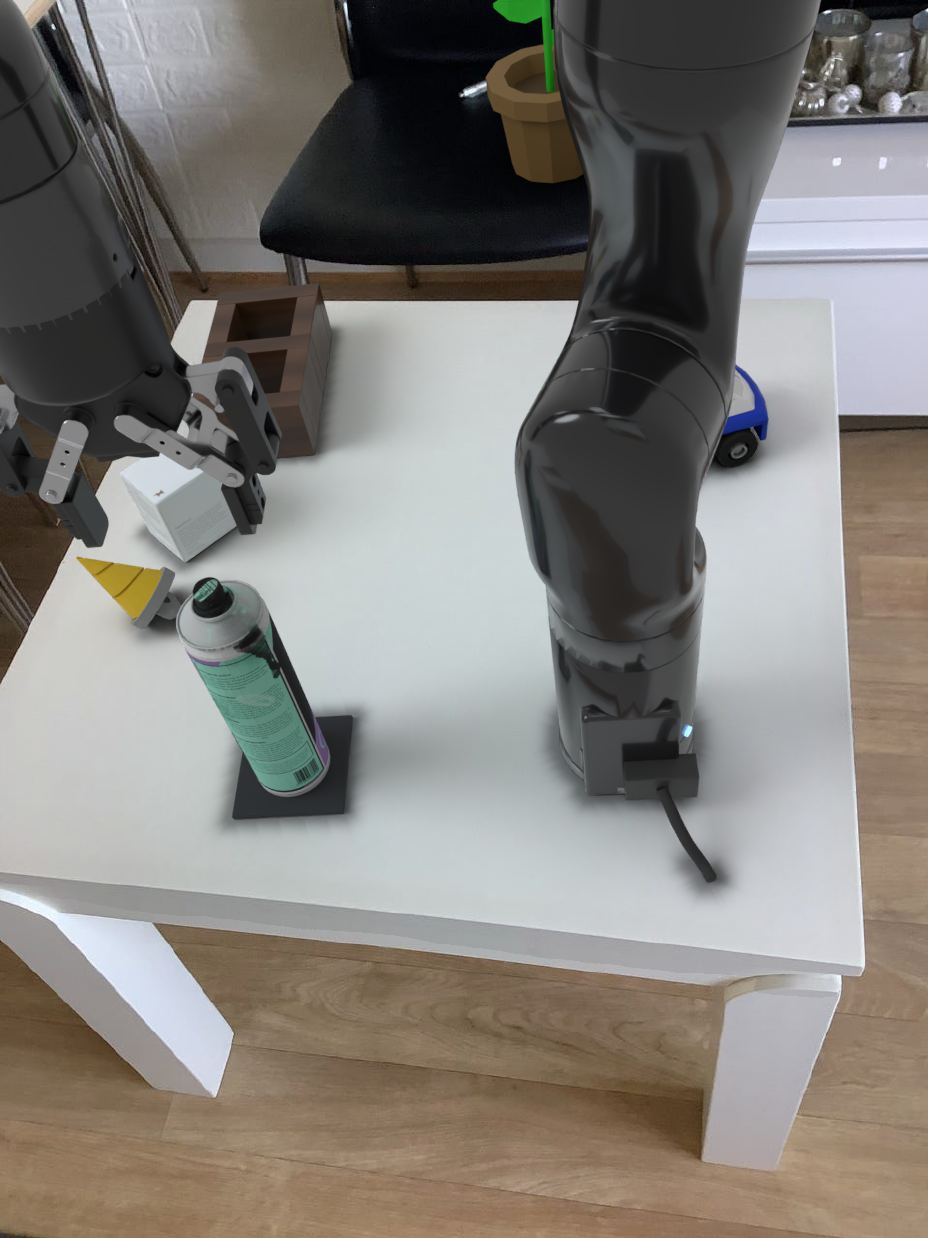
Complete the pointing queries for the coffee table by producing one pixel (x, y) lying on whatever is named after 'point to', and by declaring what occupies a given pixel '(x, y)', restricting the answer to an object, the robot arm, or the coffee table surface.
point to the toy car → (743, 422)
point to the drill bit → (136, 589)
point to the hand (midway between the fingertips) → (175, 530)
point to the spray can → (253, 684)
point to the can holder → (278, 355)
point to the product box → (178, 504)
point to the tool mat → (317, 801)
